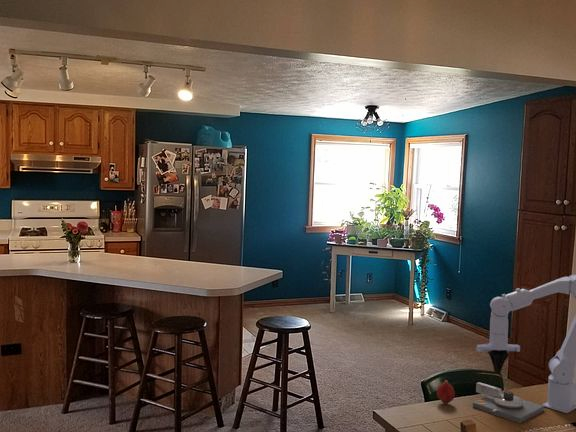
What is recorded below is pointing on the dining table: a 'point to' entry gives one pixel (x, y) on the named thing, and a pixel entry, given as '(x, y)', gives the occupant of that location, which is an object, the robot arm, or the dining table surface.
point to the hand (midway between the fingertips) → (497, 372)
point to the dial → (500, 396)
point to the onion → (445, 392)
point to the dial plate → (511, 414)
